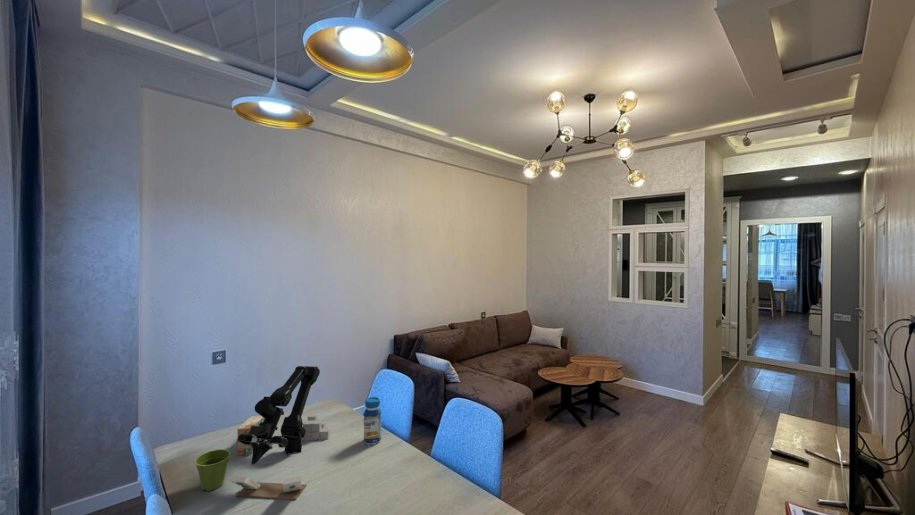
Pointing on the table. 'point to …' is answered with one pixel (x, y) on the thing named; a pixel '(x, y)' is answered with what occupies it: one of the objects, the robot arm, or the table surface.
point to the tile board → (270, 492)
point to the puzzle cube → (315, 428)
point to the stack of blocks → (245, 429)
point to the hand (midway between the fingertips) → (253, 464)
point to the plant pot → (212, 468)
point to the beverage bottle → (372, 421)
